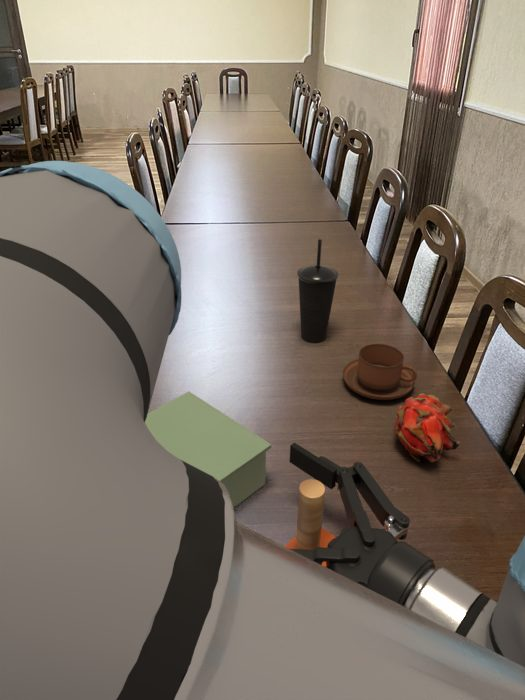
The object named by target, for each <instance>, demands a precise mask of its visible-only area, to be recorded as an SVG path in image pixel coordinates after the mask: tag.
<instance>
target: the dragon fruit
mask: <svg viewBox="0 0 525 700" xmlns="http://www.w3.org/2000/svg"><path fill="white" fill-rule="evenodd" d="M452 410H453V409H452V407H451V406H450V405H449V404H446V403H442V400H440V399H439V397H437V396H436V395H435V394H427V393H425V392H422V393H419V394H417V396H410V397H407V398H406V399H405V404H403V405H399V406H398V407H397V410H396V416H397V417H396V420H395V425H394V430H393V432H394V435H395V437H396V438H395V439H396V440H399V441H400V443H401V444H402V445H403V446H404V448H405V450H406V451H407V452H408V455H409V456H410V457H411V458H413V459H414V460H415V461H416V462H418V463H422V461H421V459H420V458H421V457H424V458H425V459H426V460H428V461H429V462H430V463H432V464H433V463H435V462H437V461H439V460H440V459H442V456H441V455H443V450H446V451H452V450H456V449H458V447H459V446H460V444H461V442H460V440H456V439H455V436H454V435H453V434H452V433H451V431H452V429H453V428H455V427H456V423H455V422H454V421H453V420H452V419H450V418H449V417H447V416H448V414H449V413H450V412H451V411H452Z"/></svg>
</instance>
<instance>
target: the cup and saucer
mask: <svg viewBox="0 0 525 700" xmlns="http://www.w3.org/2000/svg"><path fill="white" fill-rule="evenodd" d="M404 362H405V356H404V353H403V352H402V351H401V350H400V349H398V348H396V347H394V346H392V345H389V344H384V343H370V344H367V345H364V346H363V347H361V348H360V350H359V352H358V359H355V360H352V361H350V362H348V363H347V364H346V365H345V366H344V368H343V370H342V378H343V382H344V383H345V385H346V386H347V387H348V388H349V389H351V390H352V391H353V392H354V393H356V394H358V395H360V396H362V397H365V398H367V399H371V400H377V401H391V400H396V399H400V398H402V397H405V396H407V395H408V394H409V393H410V392H411V391H412V390H413V388H414V386H415V382H416V380H417V378H418V372H417V369H416V368H414V366H411V365H408V364H404Z"/></svg>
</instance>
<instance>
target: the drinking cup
mask: <svg viewBox="0 0 525 700" xmlns="http://www.w3.org/2000/svg"><path fill="white" fill-rule="evenodd" d="M322 244H323V241H322V239H320V238H319V239H317V251H316V264H309V265H305V266H302V267H300V268H299V269H298V270H297V271H296V276H297V278H298V291H299V292H298V296H299V315H300V317H299V318H300V335H301V338H302V340H303V341H304V342H307V343H311V344H319V343H322V342H324V341H325V340H326V337H327V333H328V328H329V322H330V316H331V312H332V311H331V310H332V306H333V301H334V295H335V290H336V284H337V280H338V279H339V272H338V270H336V269H334V268H333V267H330V266H328V265H324V264H321V260H322V259H321V258H322V257H321V256H322Z"/></svg>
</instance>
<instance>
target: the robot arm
mask: <svg viewBox="0 0 525 700" xmlns="http://www.w3.org/2000/svg"><path fill="white" fill-rule="evenodd" d="M181 265H182V264H181V260H180V254H179V250H178V247H177V245H176V241H175V240H174V237H173V235H172V233H171V231H170V229H169V227H168V226H167V223H166V222H165V221H164V219H163V217H162V216H161V215H160V214H159V212H158V211H157V210H156V209H155V207H154V206H153V205H152V204H151V203H150V202H149V201H148V200H147V199H146V197H144V196H143V195H142V194H141V193H140V192H139V191H137V190H136V189H135V188H134V187H133V186H131V185H130V184H128V183H127V182H125V181H123V180H122V179H121V178H119V177H117V176H116V175H114V174H111V173H110V172H108V171H105V170H103V169H100V168H99V167H95V166H91V165H87V164H83V163H79V162H72V161H67V160H46V161H39V162H34V163H31V164H27V165H24V164H23V165H21V166H19V167H15V168H12V167H9V168H7V169H5V170H2V171H0V700H525V535H524V536H523V537H522V540H521V541H520V543H519V546H518V548H517V550H516V552H515V553H513V554H512V555H511V557H510V559H509V561H508V562H509V563H508V569H507V572H506V575H505V578H504V580H503V584H502V586H501V589H500V592H499V596H498V599H497V601H495V600H494V599H492V598H491V597H489V596H488V595H486V594H485V593H483V592H482V591H480V590H479V589H477V588H476V587H474V586H473V585H471V584H470V583H468V582H467V581H465V580H464V579H463V578H461V577H459V576H458V575H457V574H455V573H454V572H453V571H450V570H449V569H448V568H446V567H443V566H441V567H438V568H436V565H435V562H434V560H433V559H432V558H431V557H429V556H427V554H425V553H422V551H420V550H418V549H417V548H415V547H414V546H412V545H411V544H409V543H408V542H405V541H404V540H406V538H408V537H407V536H408V532H409V527H410V523H411V519H410V518H409V516H407V515H406V514H405V513H403V512H402V511H401V510H400V509H398V508H397V507H395V505H394V504H393V502H392V501H391V500H390V498H389V497H388V496H387V494H386V493H385V492H384V490H383V489H382V487H381V486H380V485H379V483H378V482H377V481H376V479H375V478H374V477H373V476H372V474H371V472H370V471H369V470H368V468H367V467H366V466H365V464H363V462H361V461H355V462H354V463H353V465H351V466H349V467H347V466H341V465H339V464H337V463H335V462H334V461H332V460H331V459H329V458H327V457H326V456H323V455H320V456H319V457H318V456H317V455H316V454H314V453H312V452H310V451H309V450H307V449H306V448H304V447H303V446H301V445H300V444H298V443H296V442H293V443H291V444H290V446H289V463H290V464H292V465H293V466H295V467H296V468H297V469H300V470H301V471H302V472H303V473H305V474H307V475H308V476H310V477H311V478H312V479H315V480H318V481H320V482H321V483H322V484H323V485H324V487H327V488H328V489H329V490H333V489H334V488H335V487H336V486H337V489H336V491H339V494H340V497H341V501H342V505H343V508H344V510H345V514H346V517H347V520H348V524H349V526H347V525H346V526H345V527H343V529H341V531H340V533H339V535H338V536H335V537H336V538H334V539H332V540H331V541H330V542H329V543H328V547H327V548H324V547H317V548H315V549H314V550H302V549H289V548H287V547H285V545H283V544H282V543H281V544H280V543H279V542H277V541H276V540H272V539H271V538H269V537H266V536H265V535H263V534H261V533H259V532H257V531H255V530H253V529H251V528H249V527H247V526H245V525H243V524H241V523H239V522H238V521H237V517H236V513H235V509H234V508H233V504H232V501H231V498H230V495H229V492H228V490H227V488H226V487H225V485H224V484H223V483H222V482H220V481H219V480H218V479H216V478H214V477H213V476H211V475H209V474H207V473H205V472H203V471H201V470H200V469H198V468H196V467H194V466H192V465H190V464H188V463H186V462H184V461H182V460H180V459H179V458H177V457H175V456H174V455H172V454H171V453H170V452H168V451H167V450H166V449H165V448H164V447H163V446H162V445H161V444H160V443H159V442H158V441H157V440H156V439H155V438H154V436H153V435H152V433H151V432H150V431H149V429H148V428H147V426H146V424H145V420H146V418H147V414H148V413H149V410H150V406H151V402H152V398H153V395H154V391H155V388H156V387H155V386H156V384H157V379H158V376H159V373H160V369H161V366H162V361H163V358H164V355H165V350H166V347H167V344H168V340H169V336H170V335H171V334H172V333H173V330H175V327H176V325H177V323H178V321H179V317H180V313H181V310H182V309H181V308H182V266H181ZM336 484H337V485H336ZM359 494H360V495H359ZM360 496H361V497H362V499H363V500H364V501H365V503H366V504H367V506H368V508H369V509H370V510H371V512H372V514H373V515H374V516H375V518H376V519H377V520H378V522H379V524H380V525H381V526H382V527H383V528H375V527H372V525H371V523H370V519H369V517H368V514H367V511H365V509H364V507H363V504H362V502H361V498H360ZM398 540H400V541H398ZM322 562H326V565H327V567H324V566H322Z"/></svg>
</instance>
